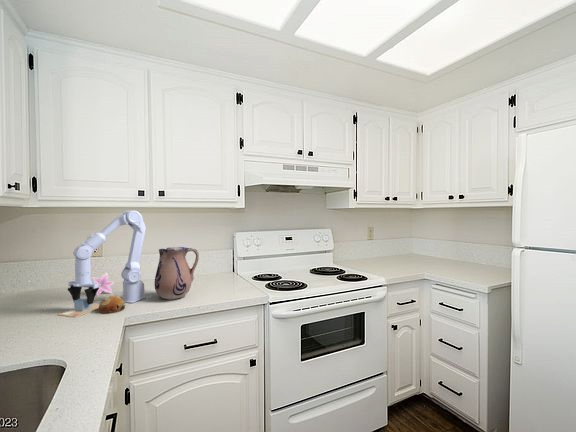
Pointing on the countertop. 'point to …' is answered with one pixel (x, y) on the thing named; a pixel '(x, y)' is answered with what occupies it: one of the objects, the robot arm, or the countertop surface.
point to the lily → (103, 284)
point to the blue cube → (81, 305)
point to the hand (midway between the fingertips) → (83, 303)
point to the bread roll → (111, 305)
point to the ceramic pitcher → (174, 272)
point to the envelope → (78, 313)
